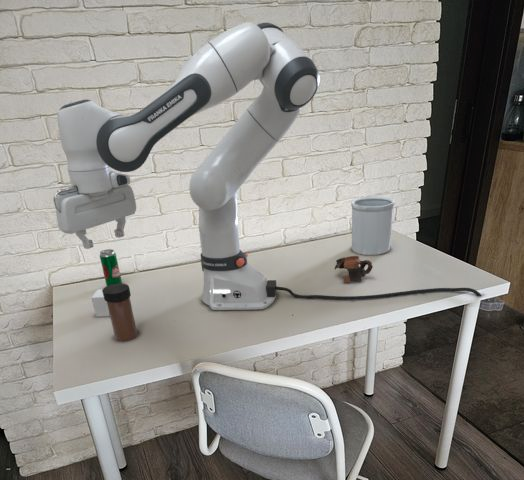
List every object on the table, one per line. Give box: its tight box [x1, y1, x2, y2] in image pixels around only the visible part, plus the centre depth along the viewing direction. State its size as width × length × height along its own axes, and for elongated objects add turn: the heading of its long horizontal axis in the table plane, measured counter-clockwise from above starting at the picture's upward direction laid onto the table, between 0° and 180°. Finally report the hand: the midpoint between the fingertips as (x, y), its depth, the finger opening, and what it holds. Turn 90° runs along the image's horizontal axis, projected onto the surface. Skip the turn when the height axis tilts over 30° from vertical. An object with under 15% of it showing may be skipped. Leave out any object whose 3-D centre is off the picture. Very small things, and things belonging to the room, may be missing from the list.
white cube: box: [91, 288, 110, 318], centre depth 139 cm, size 6×6×6 cm
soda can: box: [99, 248, 123, 287], centre depth 155 cm, size 5×5×12 cm
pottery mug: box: [334, 255, 374, 284], centre depth 152 cm, size 12×10×8 cm
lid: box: [102, 283, 132, 302], centre depth 120 cm, size 7×7×2 cm
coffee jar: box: [106, 296, 138, 342], centre depth 123 cm, size 6×6×13 cm
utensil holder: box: [350, 195, 396, 256], centre depth 172 cm, size 15×15×18 cm
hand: (104, 242), depth 114 cm, fingers open, 8 cm apart
